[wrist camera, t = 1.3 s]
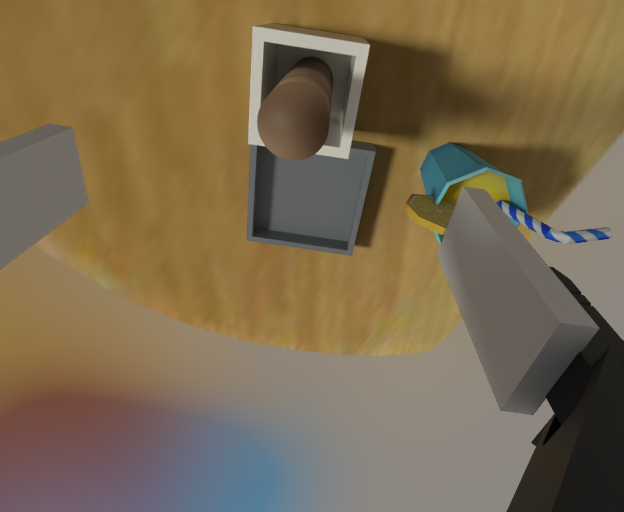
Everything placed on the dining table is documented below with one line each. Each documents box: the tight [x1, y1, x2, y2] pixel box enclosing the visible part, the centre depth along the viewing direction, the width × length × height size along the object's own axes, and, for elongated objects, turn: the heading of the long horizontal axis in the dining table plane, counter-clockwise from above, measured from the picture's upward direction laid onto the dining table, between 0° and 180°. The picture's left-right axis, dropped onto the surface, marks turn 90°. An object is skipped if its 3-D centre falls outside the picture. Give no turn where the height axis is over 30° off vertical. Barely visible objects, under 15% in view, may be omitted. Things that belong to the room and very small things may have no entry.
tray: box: [247, 141, 376, 256], centre depth 40 cm, size 12×12×2 cm
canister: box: [248, 23, 370, 159], centre depth 31 cm, size 8×8×9 cm
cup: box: [403, 143, 612, 245], centre depth 32 cm, size 14×8×15 cm, turn 93°
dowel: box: [257, 57, 333, 161], centre depth 27 cm, size 4×4×16 cm
